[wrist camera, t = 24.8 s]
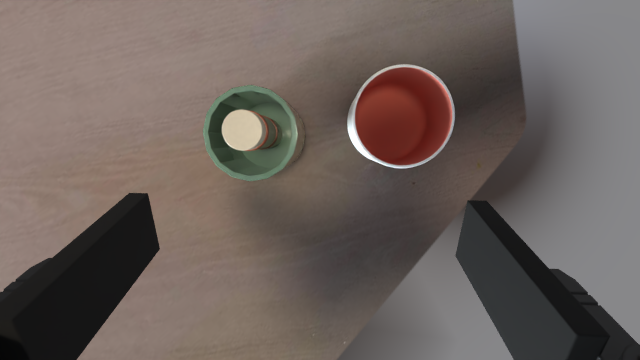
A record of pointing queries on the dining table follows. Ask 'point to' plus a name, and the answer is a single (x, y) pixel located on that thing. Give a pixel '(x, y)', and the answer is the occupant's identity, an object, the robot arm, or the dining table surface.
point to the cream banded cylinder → (250, 131)
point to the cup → (401, 116)
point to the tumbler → (257, 161)
